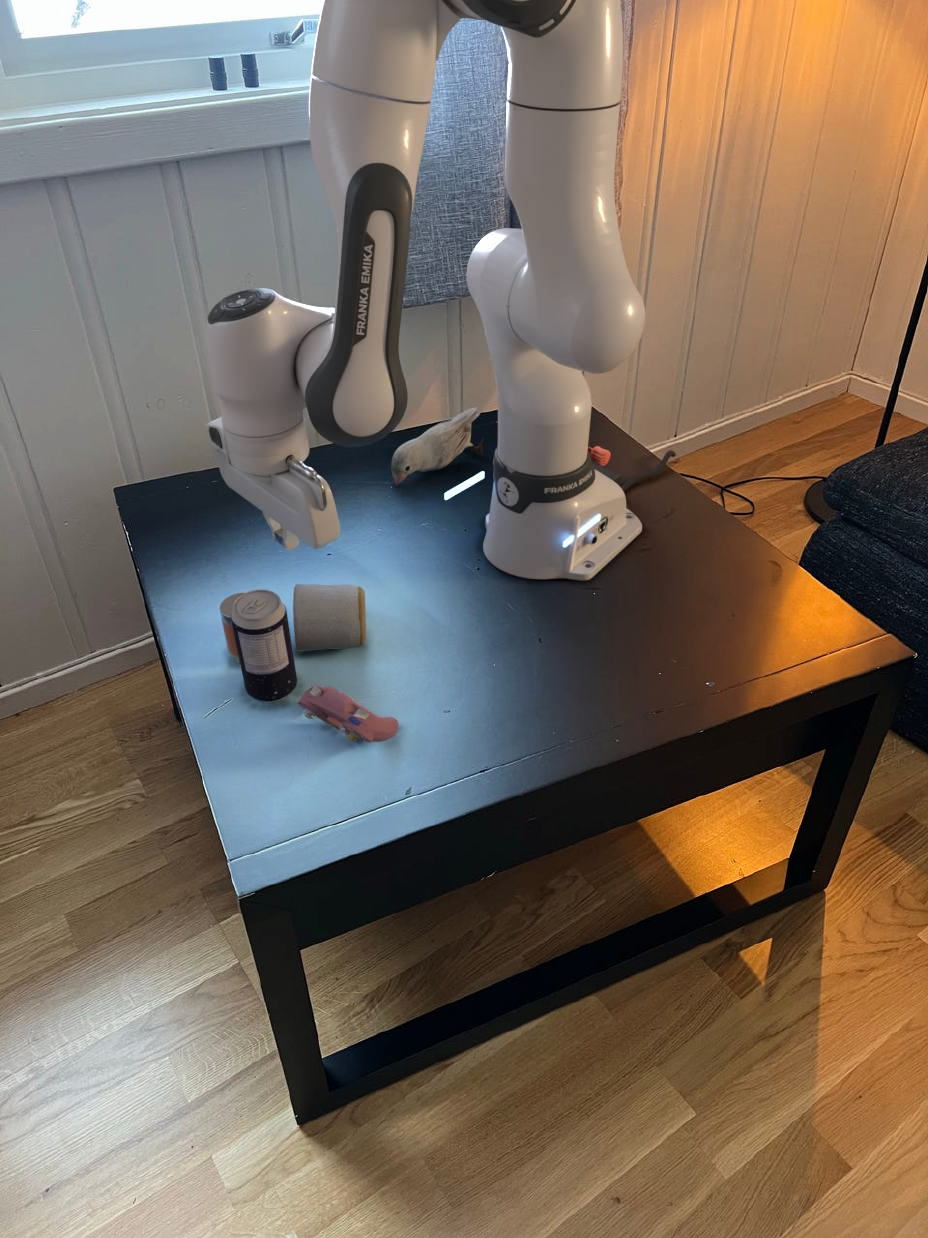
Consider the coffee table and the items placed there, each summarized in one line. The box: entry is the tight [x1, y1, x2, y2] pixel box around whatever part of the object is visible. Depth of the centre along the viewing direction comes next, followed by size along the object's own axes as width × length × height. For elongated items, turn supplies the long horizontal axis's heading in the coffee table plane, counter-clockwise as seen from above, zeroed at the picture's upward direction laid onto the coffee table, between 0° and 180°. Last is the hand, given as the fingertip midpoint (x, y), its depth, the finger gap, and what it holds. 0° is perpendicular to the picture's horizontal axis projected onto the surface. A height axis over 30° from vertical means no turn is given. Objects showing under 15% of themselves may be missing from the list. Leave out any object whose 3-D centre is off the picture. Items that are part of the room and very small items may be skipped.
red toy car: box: [297, 685, 400, 744], centre depth 96 cm, size 10×5×7 cm, turn 56°
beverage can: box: [231, 589, 298, 704], centre depth 99 cm, size 6×6×12 cm
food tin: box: [219, 592, 245, 666], centre depth 105 cm, size 5×5×7 cm
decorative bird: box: [390, 406, 484, 486], centre depth 138 cm, size 5×16×8 cm, turn 130°
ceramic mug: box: [292, 583, 367, 652], centre depth 108 cm, size 11×8×8 cm
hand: (286, 543), depth 112 cm, fingers closed
